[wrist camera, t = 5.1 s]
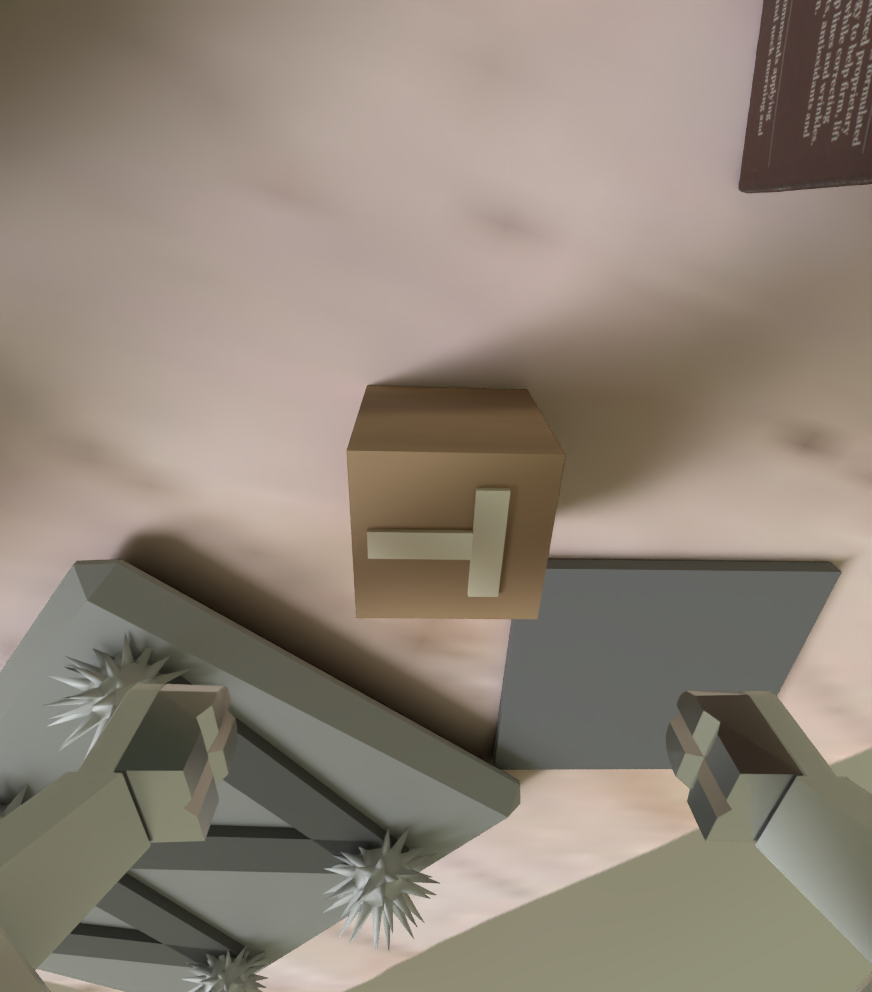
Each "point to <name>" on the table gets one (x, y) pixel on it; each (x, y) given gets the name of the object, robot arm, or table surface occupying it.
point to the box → (810, 97)
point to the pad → (645, 653)
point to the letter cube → (451, 502)
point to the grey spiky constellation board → (235, 789)
